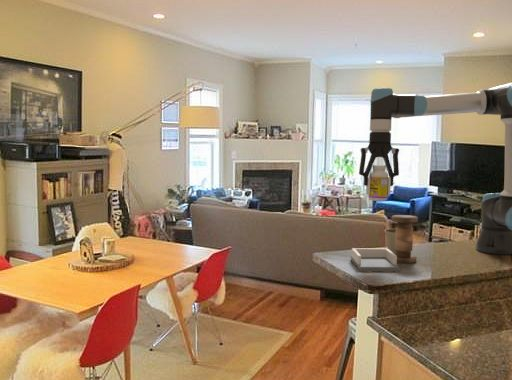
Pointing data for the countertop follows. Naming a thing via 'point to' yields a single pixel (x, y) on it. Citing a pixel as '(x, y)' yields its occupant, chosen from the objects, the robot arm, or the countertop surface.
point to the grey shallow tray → (375, 259)
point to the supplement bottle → (378, 183)
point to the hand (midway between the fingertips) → (378, 194)
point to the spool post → (404, 238)
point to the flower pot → (391, 239)
